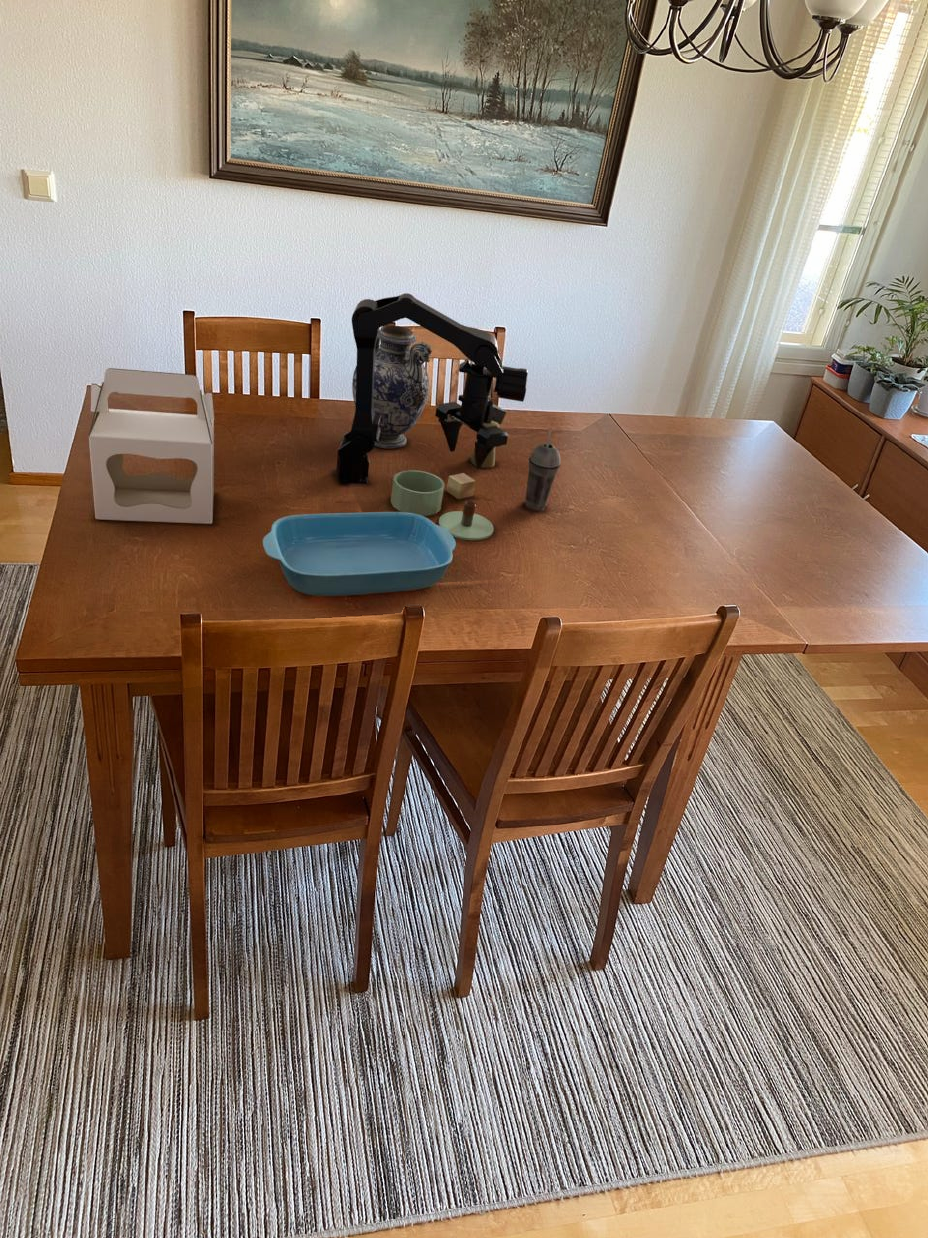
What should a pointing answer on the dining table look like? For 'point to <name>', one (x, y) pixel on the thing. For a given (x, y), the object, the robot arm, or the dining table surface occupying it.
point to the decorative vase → (398, 383)
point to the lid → (466, 523)
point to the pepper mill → (491, 456)
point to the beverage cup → (541, 474)
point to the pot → (417, 492)
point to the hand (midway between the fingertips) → (465, 459)
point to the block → (460, 486)
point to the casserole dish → (359, 552)
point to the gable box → (151, 450)
